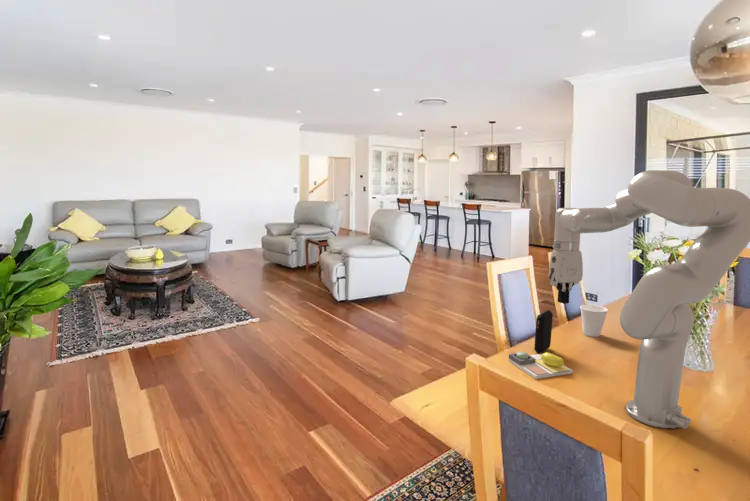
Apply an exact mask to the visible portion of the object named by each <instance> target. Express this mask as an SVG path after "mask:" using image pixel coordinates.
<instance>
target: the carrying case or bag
mask: <svg viewBox="0 0 750 501" xmlns="http://www.w3.org/2000/svg"><path fill="white" fill-rule="evenodd" d="M553 317H554V316H553V313H552V311H551V310H549V309H547V310H544V311H543V312H541V313H539V314H538V315H537V316H536V321H535V332H534V333H535V336H534V347H533V348H534V351H535V352H536V354H543V353H545V351H547V350H548V349H550V347H551V342H552V330H553V329H552V328H553V319H554V318H553Z"/></svg>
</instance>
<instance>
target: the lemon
mask: <svg viewBox="0 0 750 501" xmlns="http://www.w3.org/2000/svg"><path fill="white" fill-rule="evenodd" d="M541 354H542V355H541V359H542V361H543V362H545V363H546V364H548V365H550V366H553V367H560V366H563V365H564V366H565V360H564V359H563V358H562V357H560V356H558V355H555V354H554V353H552V352H551V353H550V352H548V351H546V352H542V353H541Z"/></svg>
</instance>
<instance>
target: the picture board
mask: <svg viewBox="0 0 750 501" xmlns="http://www.w3.org/2000/svg"><path fill="white" fill-rule="evenodd" d="M516 354H517V352H514V353H513V352H512V353H508V362H509V363H511V364H512V365H514V366H515V367H517V368H518V369H520V370H521V371H523V372H524V373H526V374H527V375H529V376H530V377H532V378H533V379H535V380H538V379H544V378H545V379H546V378H551V377H558V376H563V375H571V374H574V370H573V369H572V368H570V367H567V366H566V365H565V364H564V365H563V366H560V367H553V366H550V365H548V364H546V363H545V362H543V361H542V359H541V355H542V354H543V353H541V354H537V353H536V354H528V359H522V360H520V359H519V358H517V357H516Z"/></svg>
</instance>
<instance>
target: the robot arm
mask: <svg viewBox="0 0 750 501" xmlns="http://www.w3.org/2000/svg"><path fill="white" fill-rule="evenodd" d="M692 185H693V184H692V181H691V179H690V178H689V176H687V175H685V174H684V173H683V172H680V171H676V170H665V169H664V170H661V169H660V170H659V169H658V170H657V169H656V170H655V169H654V170H653V169H650V170H645V171H641V172H639V173H637V174H636V175H634V176H633V177H632V179H631V180H630V182H629V183H628V186H627V187H626V188H624V189H622V190H621V189H620V191H618V193H617V194H616V197H615V203H613V204H611V205H608V206H603V207H585V208H583V207H582V208H578V207H577V208H576V207H559V208H557V209H556V211H555V219H554V222H555V223H554V238H553V243H552V246H551V247H552V248H553V250H552V252H551V256H550V259H549V265H548V266H549V267H548V280H549V286H552V287H554V288H556V290H557V303H560V304H564V305H565V304H569V303H570V292H571V291H572V288H573V286H575V285H578V284H579V282H581V281H582V279H583V273H584V272H583V270H584V269H583V268H584V266H583V264H584V263H583V254H582V251H581V250H580V245H581V244H580V243H581V234H596V233H597V234H598V233H608V232H612V231H615V230H618V229H620V228H623V227H626V226H628V225H630V224H632V223H633V222H635V221H636V220H637V219H639V218H642V217H644V216H647V215H651V214H654V215H657V216H658V217H660V218H662V219H665V220H666V221H669V222H671V223H674V224H676V225H678V226H682V227H687V228H695V227H707V228H706V230H705V231H704V232H702V234H700V235H699V236H698V237H697V238H696V239H695V240H694V241H693V242H692V243H691V245H690V246H689V247H688V249H687V250H686V252H685V253H684V254H683V256H682V257H681V258H680V259H679V260H678V261H677V262H675V263H672V264H663V265H658V266H655V267H653V268H651V269H649V270H648V271H647V272H645V273H644V274H643V276H642V277H641V278H640V280H639V281H638V282H637V284H636V285H635V288H634V289H633V290H632V292H631V293H630V295H629V297H628V298H627V300H625V303H624V305H623V307H622V308H621V311H620V315H619V323H620V326H621V329H622V330H623V332H624V333H625V334H626V335H627V336H629V337H630V338H633V339H635V340H641V342H640V346H639V352H638V356H637V357H638V359H637V367H636V375H635V382H634V383H635V384H634V391H633V392H634V393H633V399H632V400H628V401H627V402H626V404H625V411H626V412H627V414H629V416H631V417H632V418H633V419H635V420H637V421H638V422H640V423H643V424H645V425H648V426H651V427H656V428H659V427H660V429H667V428H672V429H677V428H676V427H678V428H682V429H684V430H686V429H688V428H689V426H690V424H691V421H692V420H691V418H690V417H688V416H686V415H684V414H683V413H682V410H683V407H682V406H680V405H679V399H680V393H681V392H680V391H681V382H682V376H683V369H684V368H683V367H684V363H685V362H684V361H685V355H686V354H685V353H686V349H687V344H688V342H689V338H690V336H691V333H692V330H693V327H694V322H695V320H694V319H695V318H694V317H695V316H694V313H693V311H692V310H693V309H691V308H692V307H690V306H689V305H690V304H695V303H699V302H702V301H704V300H705V299H707V298H708V297H709V295H710V294H711V293H712V292H713V290H714V289H715V288H716V286H717V285H718V284H719V282H720V281H721V280H722V278H723V277H724V276H725V275H726V273H727V272H728V271H729V269H730V267H731V266H732V265H733V263H734V262H735V261H736V260H737V258H738V257H739V256H740V255H741V253H743V251H744V250H745V248H746V247H747V246H748V245H749V243H750V197H749V196H747V195H746V194H744V193H743V192H741V191H739V190H736V189H733V188H728V187H693V186H692ZM679 426H680V427H679Z"/></svg>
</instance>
